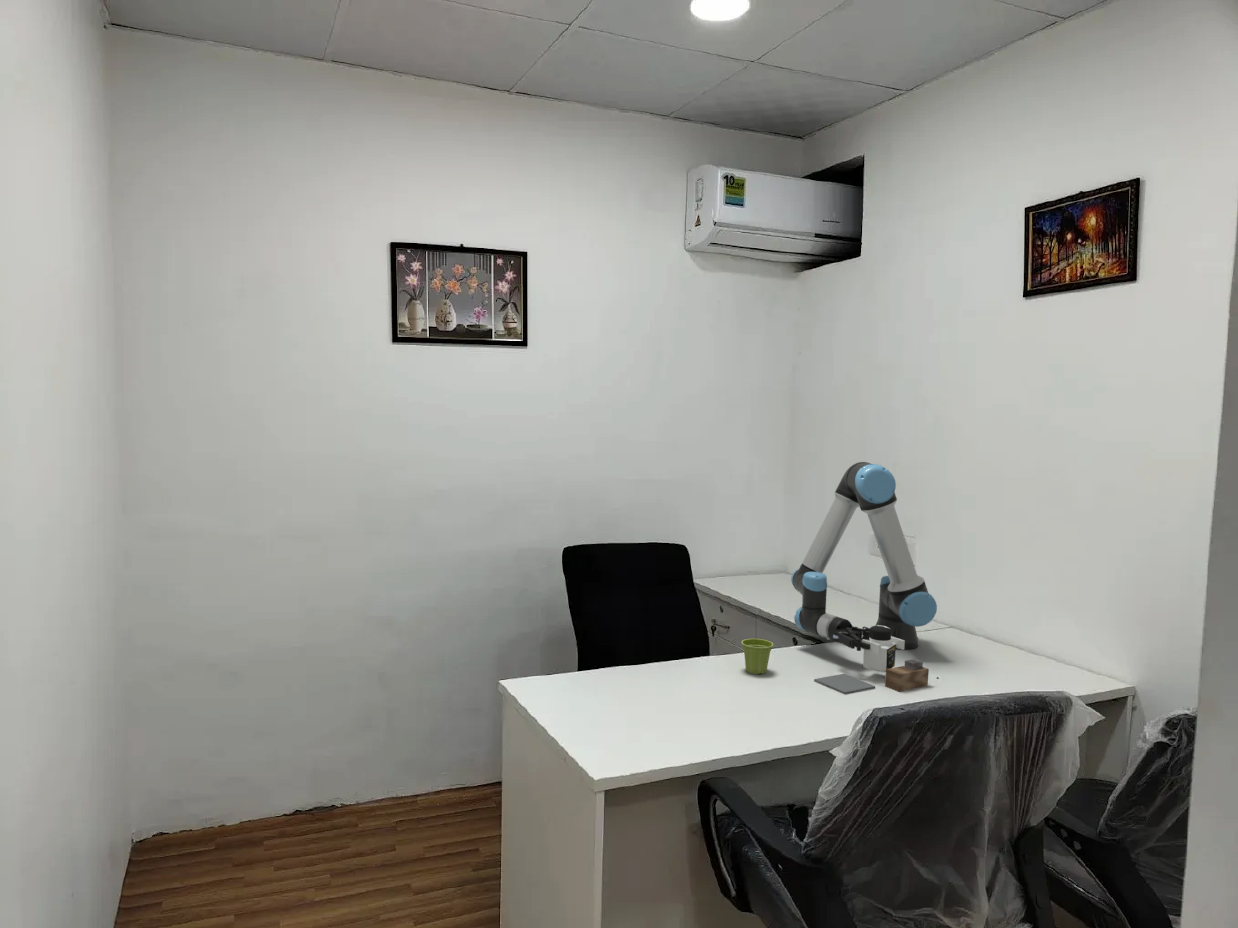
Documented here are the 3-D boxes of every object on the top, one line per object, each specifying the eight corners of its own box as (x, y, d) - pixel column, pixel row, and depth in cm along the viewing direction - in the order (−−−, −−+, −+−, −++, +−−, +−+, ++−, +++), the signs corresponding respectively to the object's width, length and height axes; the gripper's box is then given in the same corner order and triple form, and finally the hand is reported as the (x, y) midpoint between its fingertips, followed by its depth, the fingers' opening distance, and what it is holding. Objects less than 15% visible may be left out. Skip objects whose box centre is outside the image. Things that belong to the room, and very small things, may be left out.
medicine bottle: (886, 672, 242) (888, 631, 242) (862, 667, 247) (864, 627, 246) (895, 666, 248) (896, 626, 247) (871, 661, 252) (873, 622, 252)
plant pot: (735, 672, 248) (736, 643, 247) (746, 664, 256) (747, 636, 255) (766, 678, 243) (767, 649, 243) (775, 670, 252) (777, 641, 251)
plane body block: (913, 680, 247) (915, 657, 246) (927, 685, 242) (929, 662, 242) (885, 686, 241) (886, 662, 240) (898, 691, 236) (900, 667, 236)
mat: (844, 675, 249) (844, 673, 249) (875, 688, 239) (875, 686, 238) (814, 681, 243) (814, 679, 243) (844, 694, 232) (844, 692, 232)
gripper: (859, 635, 268) (917, 654, 249) (808, 645, 257) (864, 665, 238) (860, 612, 268) (918, 629, 248) (809, 621, 257) (865, 639, 237)
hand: (891, 647), depth 243 cm, fingers closed on medicine bottle, 9 cm apart
